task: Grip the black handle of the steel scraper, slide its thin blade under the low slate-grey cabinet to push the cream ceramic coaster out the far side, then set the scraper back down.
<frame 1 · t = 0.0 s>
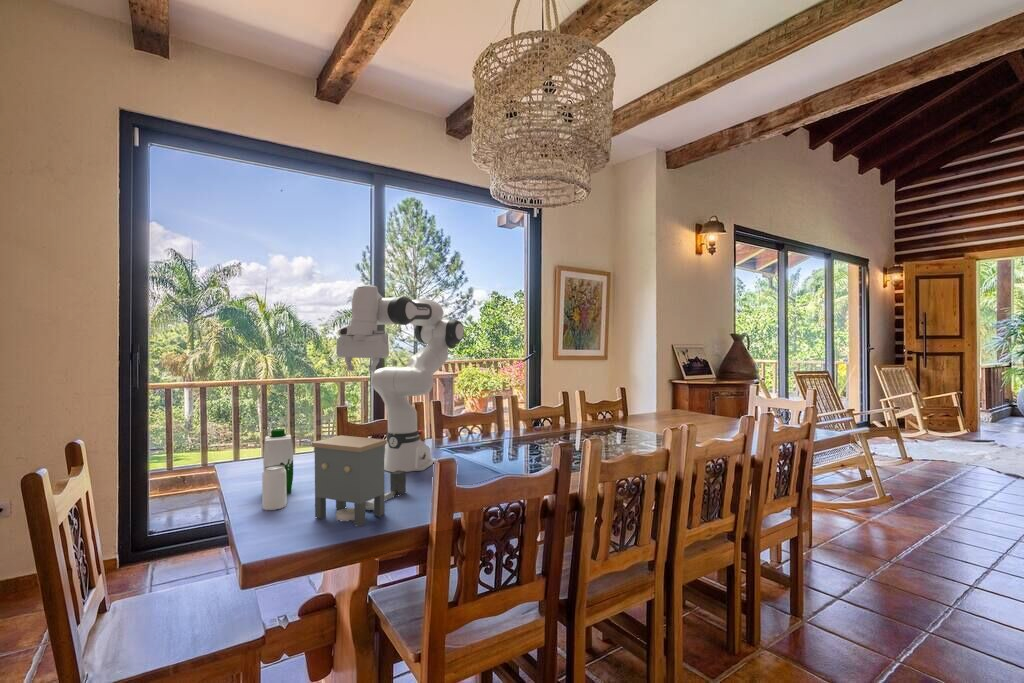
hand: (361, 371, 172), 39 cm above the table, tool pointing down, fingers open, 8 cm apart
scraper: (398, 493, 161), on the table
milk carton: (278, 492, 164), on the table
cabinet: (350, 516, 141), on the table
can: (274, 508, 149), on the table
coaster: (347, 518, 140), on the table
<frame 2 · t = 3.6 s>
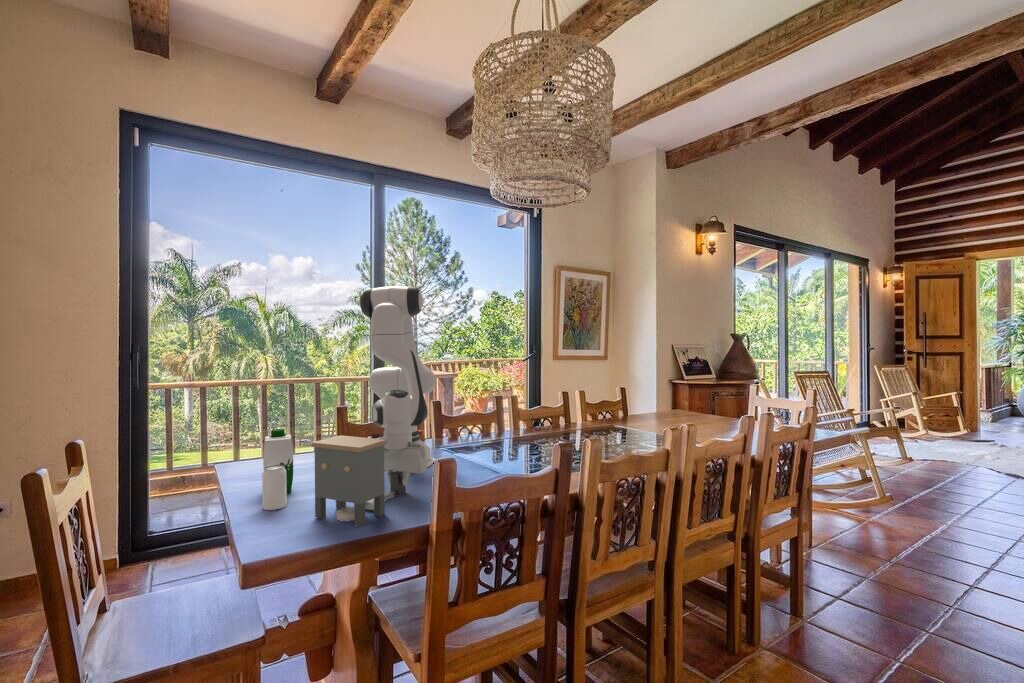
hand: (398, 484, 161), 3 cm above the table, tool pointing down, fingers closed on scraper, 3 cm apart
scraper: (398, 493, 161), on the table, touching gripper
everything else where it was.
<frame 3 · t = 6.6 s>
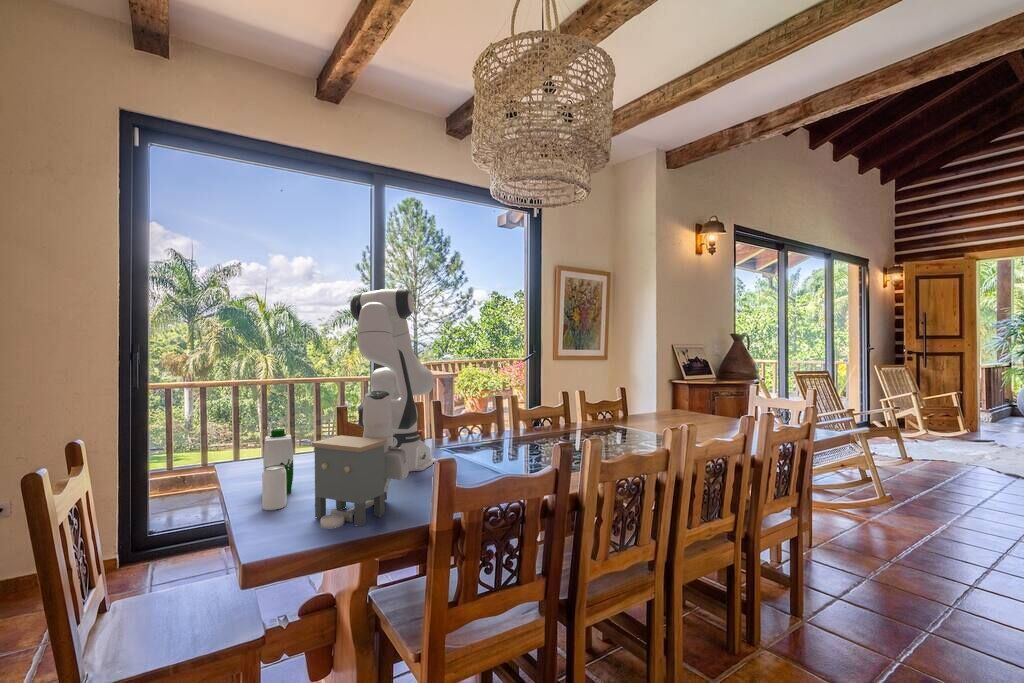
hand: (378, 490, 152), 4 cm above the table, tool pointing down, fingers closed on scraper, 3 cm apart
scraper: (378, 500, 153), point 1 cm above the table, touching coaster, gripper
coaster: (332, 524, 135), on the table, touching scraper
everything else where it was.
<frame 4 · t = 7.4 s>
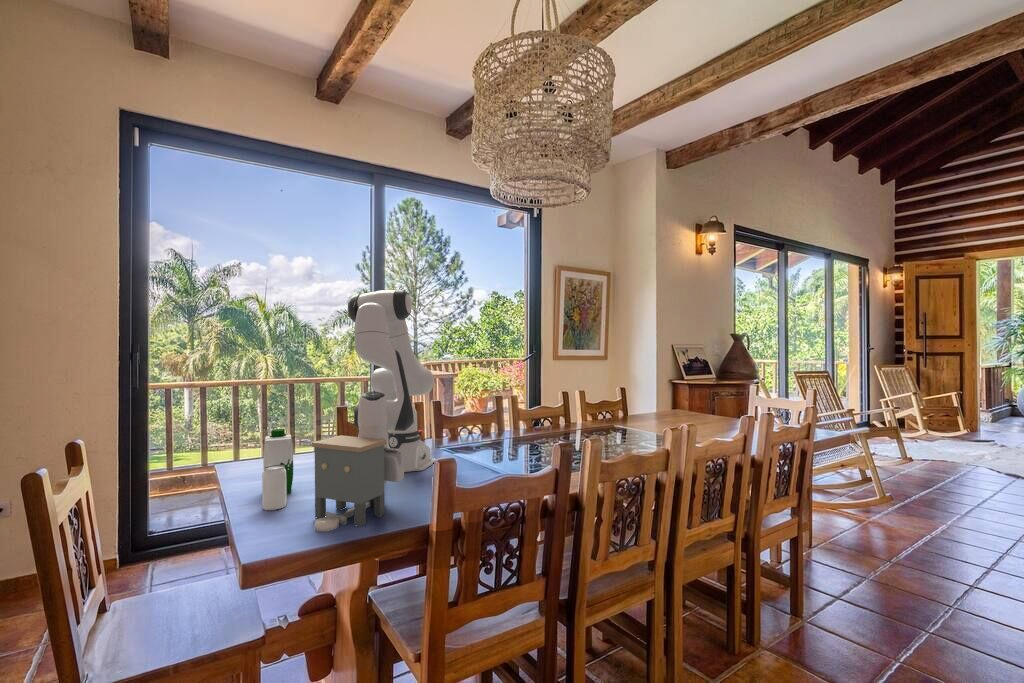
hand: (373, 492, 150), 4 cm above the table, tool pointing down, fingers closed on scraper, 3 cm apart
scraper: (374, 503, 151), point 1 cm above the table, touching gripper
coaster: (326, 528, 133), on the table
everything else where it was.
when the fingers open (3 cm above the table, at t = 9.9 s): scraper stays where it is, on the table.
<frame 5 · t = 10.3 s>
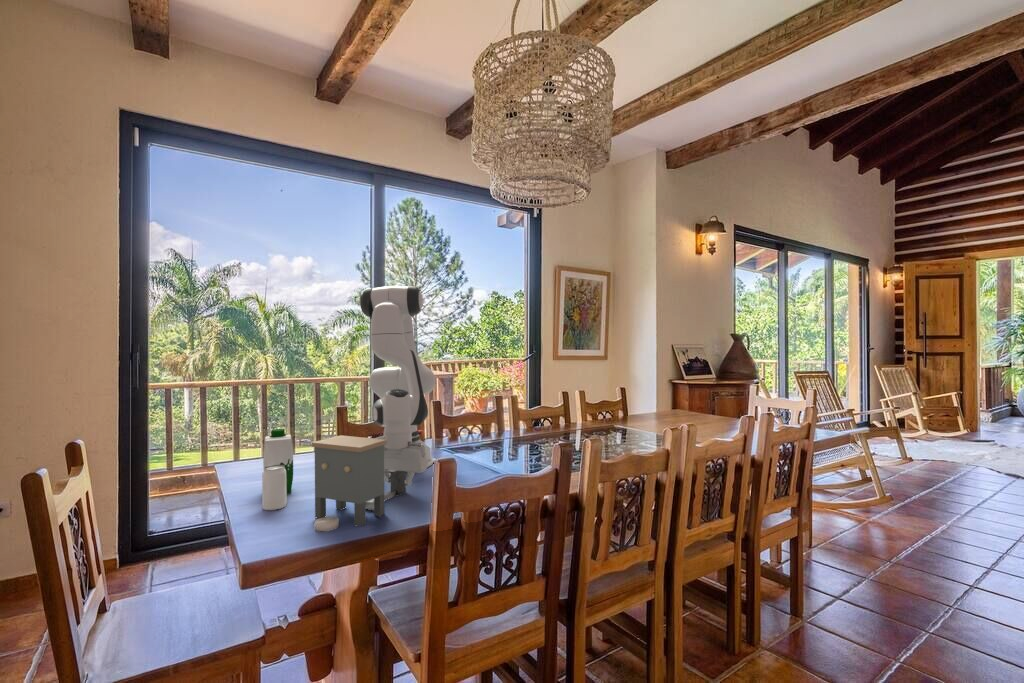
hand: (398, 483, 161), 3 cm above the table, tool pointing down, fingers open, 6 cm apart
scraper: (398, 493, 162), on the table
everything else where it was.
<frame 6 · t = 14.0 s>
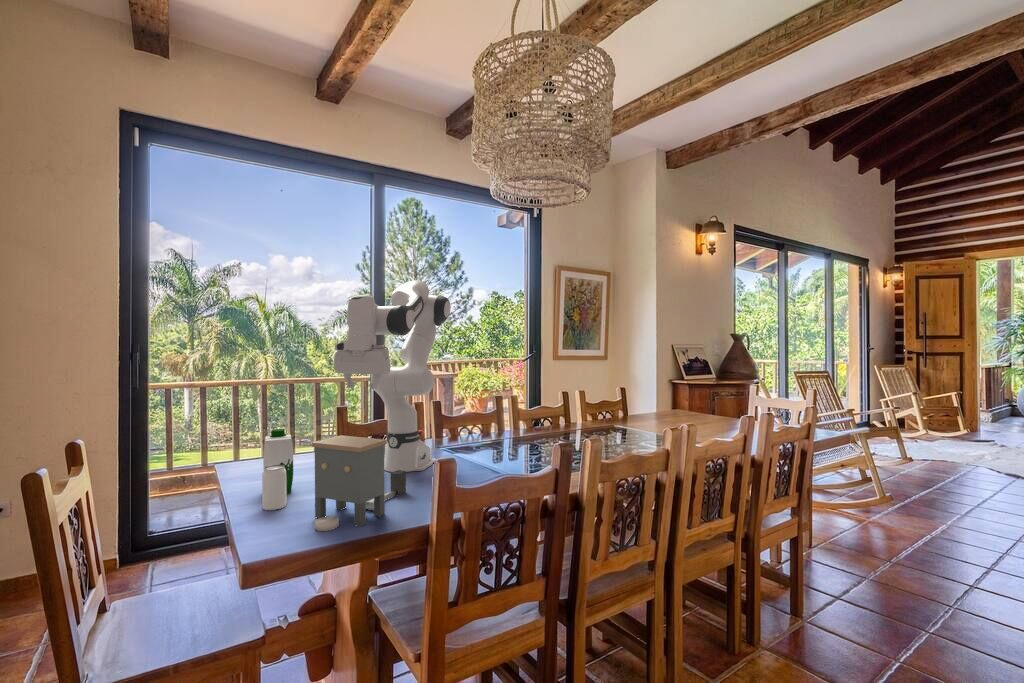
hand: (362, 388, 161), 34 cm above the table, tool pointing down, fingers open, 8 cm apart
nothing on the table moved.
at the end: coaster inside the target area (3.2 cm from its centre), on the table; coaster tilted 3°; coaster moved 7.8 cm from its start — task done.
